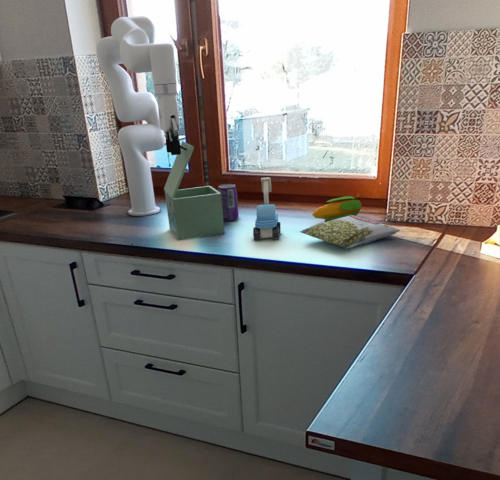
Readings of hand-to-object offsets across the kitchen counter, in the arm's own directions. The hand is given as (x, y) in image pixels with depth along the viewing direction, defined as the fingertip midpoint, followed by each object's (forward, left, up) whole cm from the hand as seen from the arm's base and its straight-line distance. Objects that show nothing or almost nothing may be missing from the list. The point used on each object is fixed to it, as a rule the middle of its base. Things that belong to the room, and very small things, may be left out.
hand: (173, 152), depth 190 cm
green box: (0, +5, -26) cm, 27 cm away
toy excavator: (+16, +26, -27) cm, 40 cm away
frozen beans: (+35, +47, -27) cm, 64 cm away
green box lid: (0, +1, -5) cm, 5 cm away
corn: (+11, +54, -27) cm, 61 cm away
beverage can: (-10, +20, -27) cm, 35 cm away
